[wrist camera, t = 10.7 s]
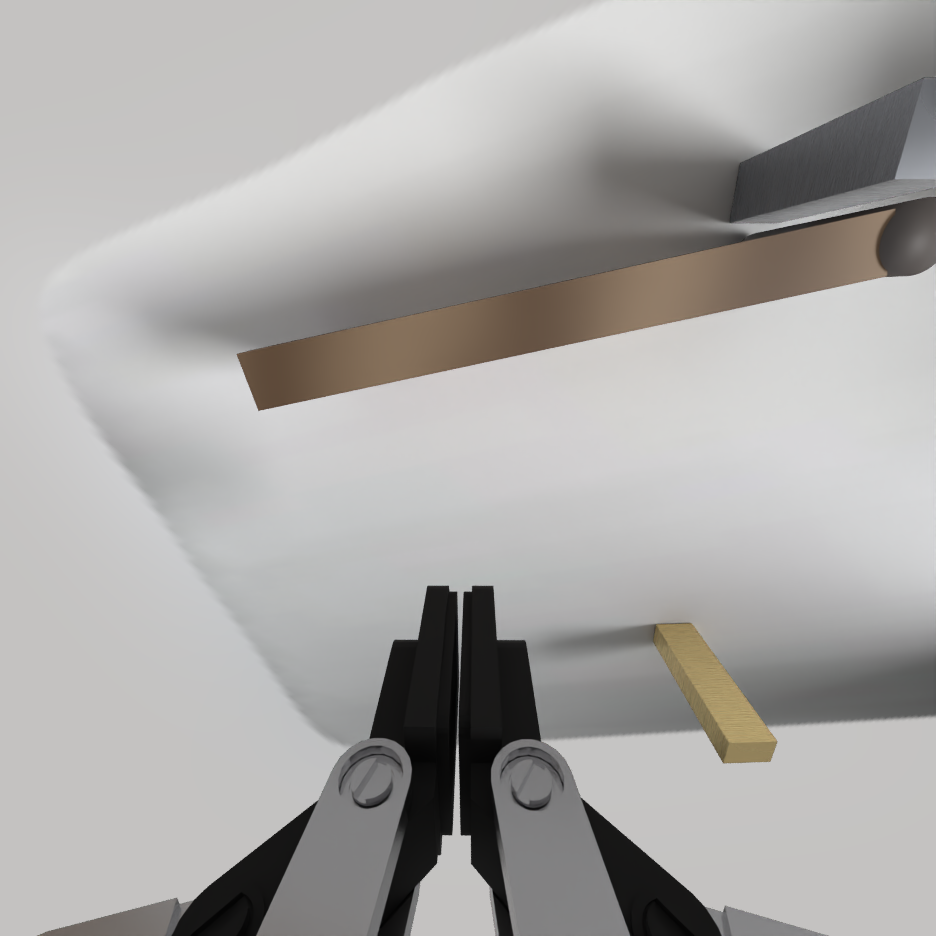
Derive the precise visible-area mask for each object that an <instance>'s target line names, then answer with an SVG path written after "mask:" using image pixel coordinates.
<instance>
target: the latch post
mask: <svg viewBox="0 0 936 936" xmlns="http://www.w3.org/2000/svg"><path fill="white" fill-rule="evenodd" d="M653 642H654V644H655V646H656V647H657V649H658V651H659V653H660V654H661V656H662V658H663V659H664V661H665V663H666V665H667V666H668V668H669V670H670V672H671V673H672V675H673V677H674V679H675V680H676V682H677V684H678V685H679V687H680V689H681V691H682V692H683V694H684V696H685V698H686V699H687V701H688V703H689V705H690V706H691V708H692V710H693V711H694V713H695V715H696V717H697V718H698V720H699V722H700V724H701V725H702V727H703V729H704V731H705V732H706V734H707V736H708V738H709V739H710V741H711V743H712V744H713V746H714V748H715V750H716V751H717V753H718V755H719V757H720V758H721V760H722V762H723V763H746V762H770V761H771V758H772V755H773V753H774V750H775V747H776V744H777V740H776V739H775V737H774V736H773V735H772V733H771V732H770V731H769V729H768V728H767V726H766V725H765V724H764V722H763V721H762V720H761V718H760V717H759V715H758V714H757V713H756V711H755V710H754V709H753V707H752V706H751V704H750V703H749V702H748V700H747V699H746V698H745V696H744V695H743V693H742V692H741V691H740V689H739V688H738V687H737V685H736V684H735V682H734V681H733V680H732V678H731V677H730V675H729V674H728V673H727V671H726V670H725V669H724V667H723V666H722V664H721V663H720V662H719V660H718V659H717V658H716V656H715V655H714V653H713V652H712V651H711V649H710V648H709V647H708V645H707V644H706V642H705V641H704V640H703V638H702V637H701V636H700V634H699V633H698V631H697V630H696V629H695V627H694V626H693V625H692V623H689V624H656V628H655V634H654V639H653Z"/></svg>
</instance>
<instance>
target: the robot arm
mask: <svg viewBox="0 0 936 936" xmlns="http://www.w3.org/2000/svg"><path fill="white" fill-rule="evenodd" d="M458 692H459V655H458V605H457V592H449V586H427V591H426V597H425V602H424V608H423V614H422V620H421V626H420V632H419V638H418V640H394V642H393V645H392V648H391V652H390V657H389V661H388V665H387V669H386V673H385V677H384V681H383V685H382V689H381V693H380V698H379V702H378V706H377V710H376V714H375V718H374V722H373V726H372V730H371V734H370V739H368V740H365V741H361V742H359V743H358V744H356V745H354V746H353V747H351V748H349V749H348V750H347V751H346V752H345V753H344V754H343V755H342V756H341V757H340V758H339V760H338V762H337V763H336V765H335V766H334V768H333V770H332V772H331V774H330V776H329V779H328V781H327V783H326V785H325V787H324V789H323V791H322V794H321V796H320V798H319V800H318V801H317V802H315V803H314V804H313V805H312V806H310V807H309V808H308V809H306V810H305V811H304V812H303V813H301V814H300V815H299V816H298V817H296V818H295V819H294V820H292V821H291V822H290V823H289V824H287V825H286V826H285V827H283V828H282V829H281V830H280V831H278V832H277V833H276V834H274V835H273V836H272V837H271V838H269V839H268V840H267V841H265V842H264V843H263V844H262V845H260V846H259V847H258V848H257V849H255V850H254V851H253V852H251V853H250V854H249V855H248V856H247V857H245V858H244V859H243V860H241V861H240V862H239V863H237V864H236V865H235V866H234V867H233V868H231V869H230V870H229V871H227V872H226V873H225V874H223V875H222V876H221V877H220V878H218V879H217V880H216V881H215V882H213V883H212V884H211V885H209V886H208V887H207V888H206V889H205V890H204V891H203V892H202V893H201V894H200V895H199V896H198V897H197V898H196V899H195V900H194V901H190V902H186V903H182V904H179V902H178V899H177V898H174V899H170V900H166V901H163V902H159V903H155V904H151V905H147V906H143V907H140V908H136V909H132V910H128V911H124V912H120V913H116V914H113V915H109V916H105V917H101V918H97V919H94V920H90V921H86V922H82V923H79V924H74V925H71V926H67V927H63V928H59V929H55V930H51V931H48V932H45V933H43V934H40V935H38V936H410V933H411V929H412V924H413V919H414V914H415V910H416V905H417V901H418V896H419V888H420V881H421V880H422V879H423V878H424V877H425V876H426V875H427V874H428V873H429V871H430V870H431V869H432V868H433V867H434V866H435V865H436V864H437V857H438V855H441V845H442V835H452V830H453V808H454V785H455V760H456V739H457V716H458ZM459 774H460V775H459V777H460V778H459V779H460V825H461V835H471V864H472V865H473V867H474V868H475V869H476V870H477V871H478V873H479V874H480V875H481V876H482V877H483V879H484V880H485V881H486V882H487V884H488V885H489V886H490V900H491V907H492V914H493V921H494V927H495V934H496V936H827V935H824V934H820V933H817V932H814V931H810V930H807V929H803V928H800V927H796V926H793V925H789V924H786V923H783V922H779V921H776V920H772V919H769V918H765V917H762V916H758V915H755V914H752V913H748V912H745V911H741V910H738V909H734V908H731V907H728V906H725V908H724V911H723V912H721V911H717V910H714V909H711V908H707V907H704V906H703V905H702V903H701V902H700V901H699V900H698V899H697V898H696V897H695V896H694V895H693V894H692V893H691V892H690V891H689V890H687V889H686V888H685V887H684V886H683V885H682V884H681V883H679V882H678V881H677V880H676V879H675V878H674V877H672V876H671V875H670V874H669V873H668V872H667V871H665V870H664V869H663V868H662V867H660V865H658V864H657V863H656V862H655V861H654V860H653V859H651V858H650V857H649V856H648V855H647V854H646V853H645V852H643V851H642V850H641V849H640V848H639V847H638V846H636V845H635V844H634V843H633V842H632V841H631V840H629V839H628V838H627V837H626V836H625V835H624V834H622V833H621V832H620V831H619V830H618V829H617V828H616V827H614V826H613V825H612V824H611V823H610V822H609V821H607V820H606V819H605V818H604V817H603V816H602V815H600V814H599V813H598V812H597V811H595V809H593V808H592V807H591V806H590V805H589V804H588V803H586V802H585V801H584V800H583V799H582V798H581V797H580V794H579V792H578V789H577V786H576V783H575V780H574V778H573V775H572V772H571V770H570V768H569V766H568V764H567V762H566V761H565V759H564V758H563V757H562V756H561V755H560V753H558V751H556V749H554V748H552V747H551V746H549V745H548V744H546V743H543V742H541V738H540V732H539V725H538V718H537V712H536V705H535V698H534V692H533V685H532V679H531V672H530V665H529V659H528V652H527V646H526V642H525V640H497V636H496V620H495V605H494V589H493V586H472V592H464V598H463V622H462V647H461V672H460V697H459Z"/></svg>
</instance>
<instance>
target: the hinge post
mask: <svg viewBox="0 0 936 936" xmlns="http://www.w3.org/2000/svg"><path fill="white" fill-rule="evenodd" d="M931 188H936V78H922V79H920V80H918V81H916V82H914V83H911V84H909V85H907V86H905V87H903V88H901V89H899V90H896V91H894V92H892V93H890V94H888V95H886V96H884V97H881V98H879V99H877V100H875V101H873V102H871V103H869V104H866V105H864V106H862V107H860V108H858V109H856V110H854V111H851V112H849V113H847V114H845V115H843V116H841V117H838V118H836V119H834V120H832V121H830V122H828V123H826V124H823V125H821V126H819V127H817V128H815V129H813V130H811V131H808V132H806V133H804V134H802V135H800V136H798V137H796V138H793V139H791V140H789V141H787V142H785V143H783V144H781V145H778V146H776V147H774V148H772V149H770V150H768V151H766V152H763V153H761V154H759V155H757V156H755V157H753V158H751V159H748V160H746V161H744V162H742V163H740V168H739V174H738V179H737V185H736V190H735V195H734V201H733V206H732V212H731V217H730V223H781V222H786V221H790V220H794V219H799V218H803V217H808V216H812V215H817V214H821V213H825V212H830V211H834V210H839V209H843V208H847V207H852V206H856V205H861V204H865V203H870V202H874V201H878V200H883V199H887V198H892V197H896V196H900V195H905V194H909V193H914V192H918V191H923V190H927V189H931Z"/></svg>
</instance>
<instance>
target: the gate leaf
mask: <svg viewBox="0 0 936 936" xmlns="http://www.w3.org/2000/svg"><path fill="white" fill-rule="evenodd" d="M935 263H936V197H927V198H921V199H917V200H912V201H907V202H902V203H898V204H893V205H888V206H883V207H878V208H874V209H869V210H864V211H859V212H855V213H850V214H845V215H840V216H836V217H831V218H826V219H821V220H817V221H812V222H807V223H802V224H797V225H793V226H788V227H783V228H778V229H774V230H769V231H764V232H759V233H755V234H752V235H750V236H748V237H746V238H745V239H744V240H743V241H742V242H739V243H734V244H730V245H725V246H721V247H716V248H712V249H707V250H703V251H698V252H694V253H689V254H685V255H680V256H676V257H671V258H666V259H662V260H657V261H653V262H648V263H644V264H639V265H635V266H630V267H626V268H621V269H617V270H612V271H608V272H603V273H599V274H594V275H590V276H585V277H581V278H576V279H571V280H567V281H562V282H558V283H553V284H549V285H544V286H540V287H535V288H531V289H526V290H522V291H517V292H513V293H508V294H504V295H499V296H495V297H490V298H485V299H481V300H476V301H472V302H467V303H463V304H458V305H454V306H449V307H445V308H440V309H436V310H431V311H427V312H422V313H418V314H413V315H409V316H404V317H400V318H395V319H390V320H386V321H381V322H377V323H372V324H368V325H363V326H359V327H354V328H350V329H345V330H341V331H336V332H332V333H327V334H323V335H318V336H314V337H309V338H305V339H300V340H295V341H291V342H286V343H282V344H277V345H273V346H268V347H264V348H259V349H255V350H250V351H247V352H243V353H239V354H237V357H238V359H239V362H240V364H241V367H242V369H243V372H244V375H245V377H246V380H247V382H248V385H249V387H250V390H251V392H252V395H253V398H254V400H255V403H256V405H257V408H258V410H259V411H260V410H265V409H269V408H274V407H279V406H283V405H288V404H293V403H297V402H302V401H307V400H311V399H316V398H321V397H325V396H330V395H335V394H339V393H344V392H349V391H353V390H358V389H363V388H367V387H372V386H377V385H381V384H386V383H391V382H395V381H400V380H405V379H409V378H414V377H419V376H424V375H428V374H433V373H438V372H442V371H447V370H452V369H456V368H461V367H466V366H470V365H475V364H480V363H484V362H489V361H494V360H498V359H503V358H508V357H512V356H517V355H522V354H526V353H531V352H536V351H540V350H545V349H550V348H554V347H559V346H564V345H568V344H573V343H578V342H582V341H587V340H592V339H596V338H601V337H606V336H610V335H615V334H620V333H624V332H629V331H634V330H638V329H643V328H648V327H652V326H657V325H662V324H666V323H671V322H676V321H680V320H685V319H690V318H694V317H699V316H704V315H708V314H713V313H718V312H722V311H727V310H732V309H736V308H741V307H746V306H750V305H755V304H760V303H764V302H769V301H774V300H778V299H783V298H788V297H793V296H797V295H802V294H807V293H811V292H816V291H821V290H825V289H830V288H835V287H839V286H844V285H849V284H853V283H858V282H863V281H867V280H872V279H877V278H881V277H894V276H911V275H916V274H919V273H921V272H923V271H925V270H927V269H929V268H930V267H932V266H933V265H934V264H935Z"/></svg>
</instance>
